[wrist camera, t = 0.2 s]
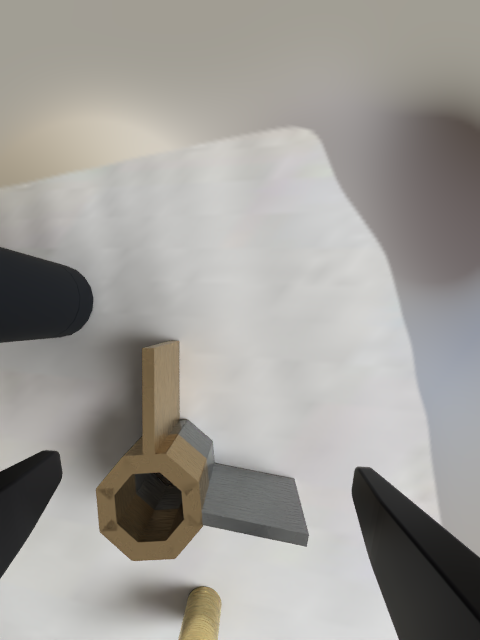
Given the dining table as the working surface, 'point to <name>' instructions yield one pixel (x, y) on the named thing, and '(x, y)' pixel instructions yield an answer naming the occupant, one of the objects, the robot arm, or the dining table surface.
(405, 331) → the dining table surface
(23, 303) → the black water bottle
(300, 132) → the dining table surface
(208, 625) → the hinge pin
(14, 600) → the dining table surface
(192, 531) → the hinge
